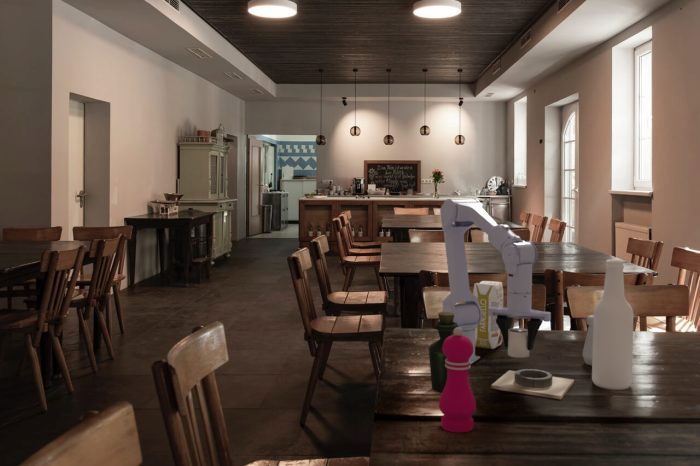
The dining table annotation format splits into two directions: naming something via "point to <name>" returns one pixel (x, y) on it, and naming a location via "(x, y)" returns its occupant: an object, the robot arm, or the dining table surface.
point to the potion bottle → (440, 351)
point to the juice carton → (488, 328)
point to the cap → (518, 343)
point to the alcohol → (613, 333)
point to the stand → (533, 383)
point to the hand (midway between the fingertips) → (518, 347)
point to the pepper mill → (457, 385)
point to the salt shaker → (589, 342)
